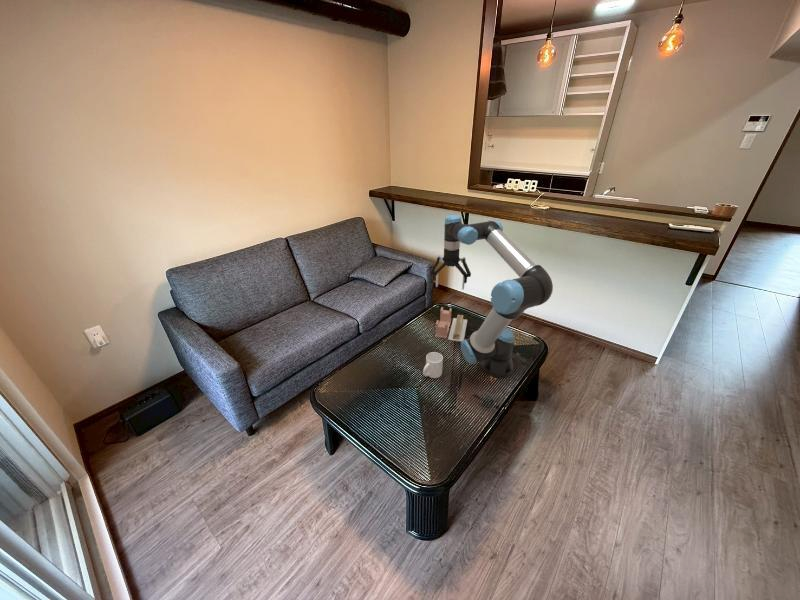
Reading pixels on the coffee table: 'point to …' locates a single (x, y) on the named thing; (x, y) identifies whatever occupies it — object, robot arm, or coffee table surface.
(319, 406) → the coffee table surface
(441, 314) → the stand
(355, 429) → the coffee table surface
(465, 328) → the mat
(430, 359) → the mug
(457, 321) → the rail
